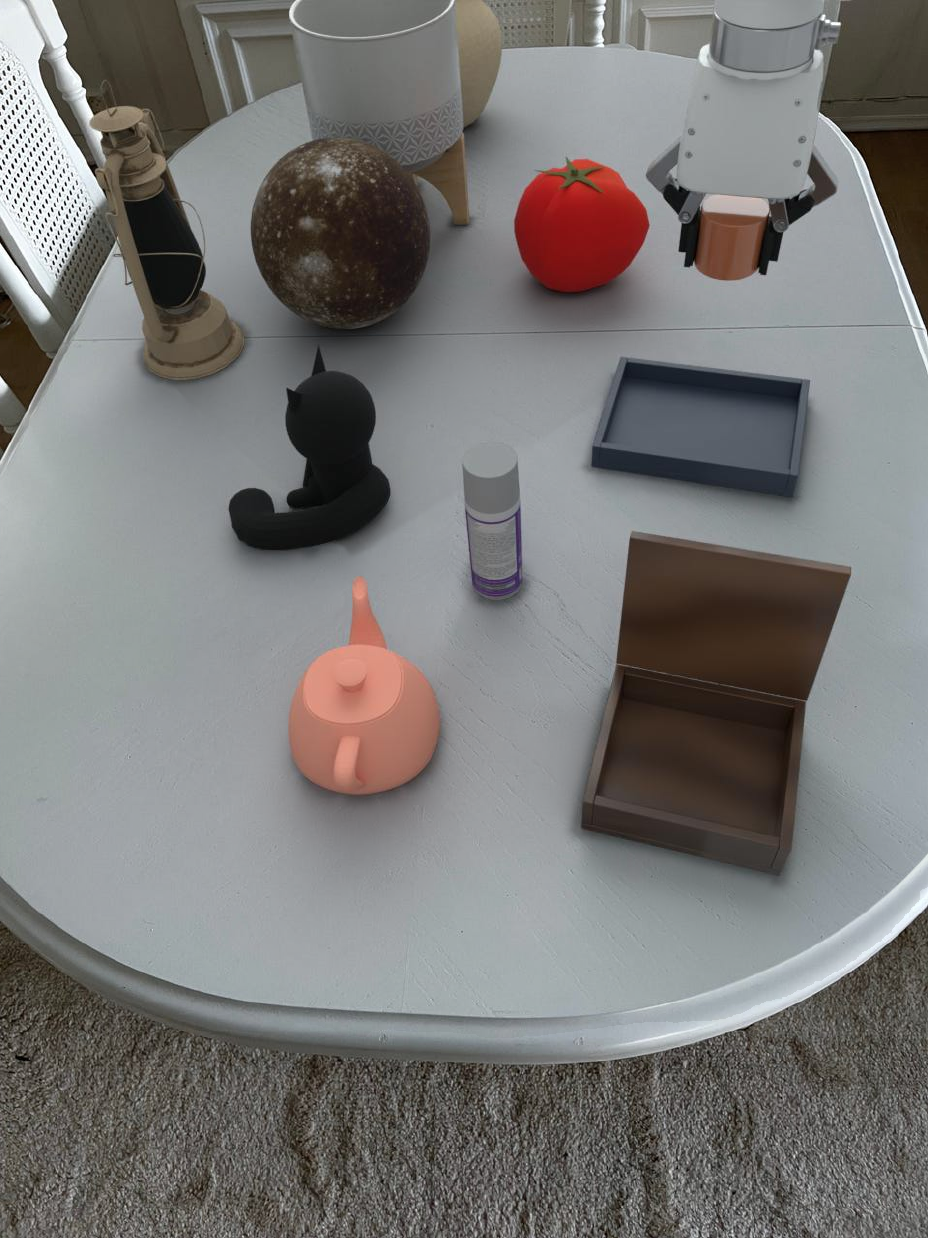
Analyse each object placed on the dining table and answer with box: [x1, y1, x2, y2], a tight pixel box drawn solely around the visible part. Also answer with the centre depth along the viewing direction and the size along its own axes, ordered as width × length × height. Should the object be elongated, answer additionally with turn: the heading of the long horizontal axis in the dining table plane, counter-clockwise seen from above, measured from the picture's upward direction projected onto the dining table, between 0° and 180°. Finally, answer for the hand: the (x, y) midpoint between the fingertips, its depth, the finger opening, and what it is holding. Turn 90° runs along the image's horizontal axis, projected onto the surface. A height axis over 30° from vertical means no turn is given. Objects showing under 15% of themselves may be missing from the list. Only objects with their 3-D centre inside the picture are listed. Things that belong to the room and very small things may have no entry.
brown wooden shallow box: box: [580, 664, 807, 876], centre depth 74 cm, size 13×15×4 cm
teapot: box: [288, 576, 441, 796], centre depth 76 cm, size 12×18×10 cm
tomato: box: [513, 156, 651, 293], centre depth 113 cm, size 16×14×14 cm
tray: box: [590, 356, 811, 498], centre depth 98 cm, size 20×15×3 cm
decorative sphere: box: [250, 137, 431, 330], centre depth 109 cm, size 20×20×20 cm
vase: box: [455, 0, 503, 129], centre depth 135 cm, size 17×17×30 cm
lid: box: [615, 530, 852, 702], centre depth 70 cm, size 13×15×1 cm
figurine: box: [227, 344, 391, 552], centre depth 91 cm, size 16×14×15 cm
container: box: [461, 439, 524, 601], centre depth 83 cm, size 5×5×15 cm
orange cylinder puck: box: [693, 194, 771, 282], centre depth 83 cm, size 6×6×5 cm
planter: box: [288, 0, 470, 226], centre depth 119 cm, size 19×19×26 cm
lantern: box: [88, 79, 245, 381], centre depth 103 cm, size 14×12×30 cm
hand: (726, 260), depth 84 cm, fingers closed on orange cylinder puck, 5 cm apart
